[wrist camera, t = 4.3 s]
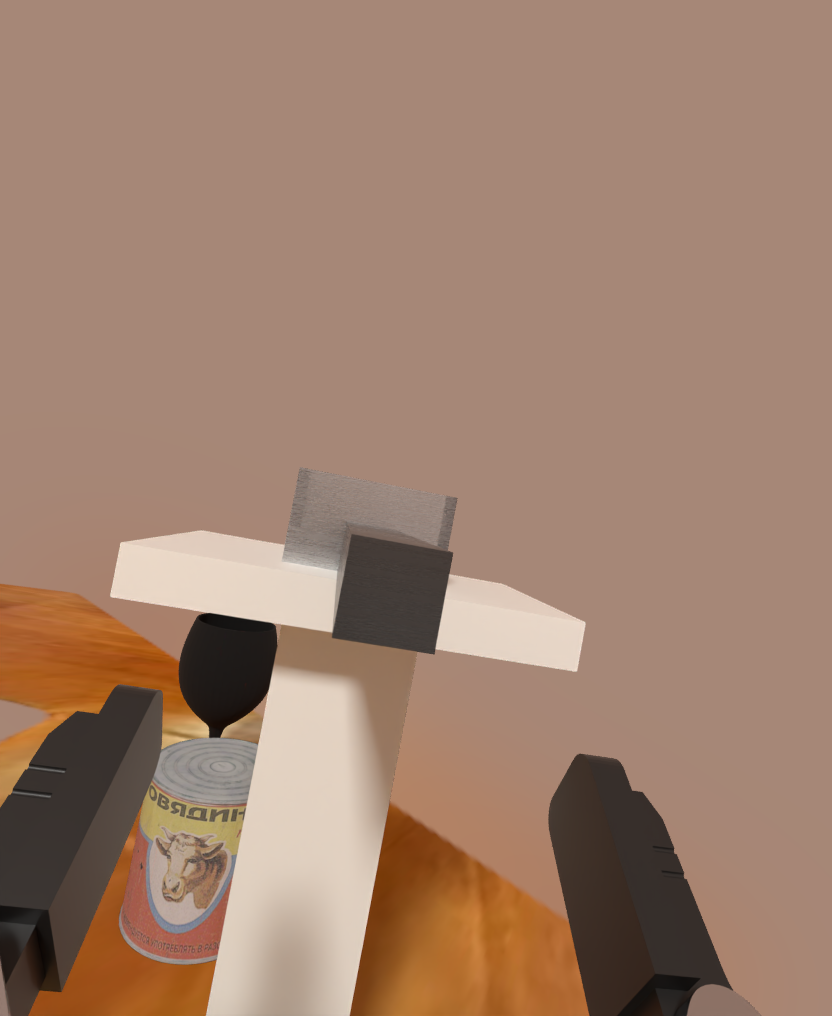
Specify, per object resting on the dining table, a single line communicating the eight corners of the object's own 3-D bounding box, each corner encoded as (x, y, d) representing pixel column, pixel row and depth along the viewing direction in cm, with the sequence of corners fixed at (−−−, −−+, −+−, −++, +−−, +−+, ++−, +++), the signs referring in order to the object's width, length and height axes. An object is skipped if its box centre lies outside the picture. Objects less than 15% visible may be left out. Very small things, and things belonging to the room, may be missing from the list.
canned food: (90, 952, 41) (123, 786, 42) (154, 859, 53) (179, 729, 53) (245, 975, 42) (277, 811, 42) (276, 878, 53) (300, 749, 53)
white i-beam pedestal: (439, 1437, 22) (585, 622, 23) (-61, 1445, 20) (120, 542, 21) (405, 1114, 34) (503, 584, 35) (89, 1096, 32) (201, 530, 33)
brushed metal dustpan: (541, 671, 13) (574, 487, 13) (213, 619, 12) (253, 421, 12) (419, 572, 32) (432, 500, 32) (295, 549, 31) (309, 476, 32)
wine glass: (149, 778, 66) (182, 607, 67) (239, 773, 71) (270, 615, 72) (157, 828, 57) (195, 630, 58) (259, 818, 62) (295, 637, 63)
